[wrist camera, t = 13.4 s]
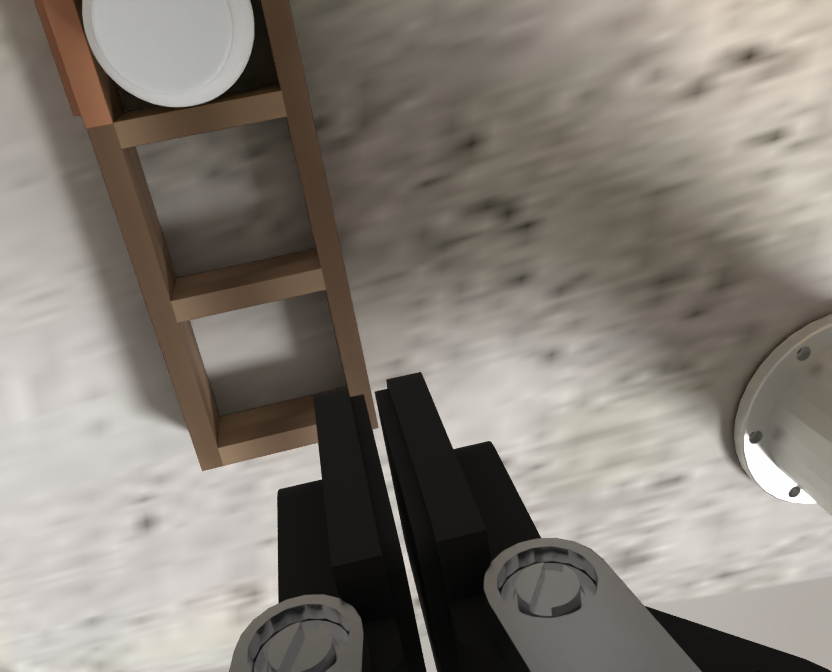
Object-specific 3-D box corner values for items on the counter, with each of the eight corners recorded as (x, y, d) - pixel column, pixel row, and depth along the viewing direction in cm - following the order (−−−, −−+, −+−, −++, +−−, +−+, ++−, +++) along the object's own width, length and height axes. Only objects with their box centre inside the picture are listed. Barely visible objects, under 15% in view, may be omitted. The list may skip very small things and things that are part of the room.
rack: (258, -122, 30) (260, -135, 27) (369, 398, 40) (379, 430, 37) (22, -85, 29) (-3, -94, 26) (197, 440, 39) (193, 475, 36)
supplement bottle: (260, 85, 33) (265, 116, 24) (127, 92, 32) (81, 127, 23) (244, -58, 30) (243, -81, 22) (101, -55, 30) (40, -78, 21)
